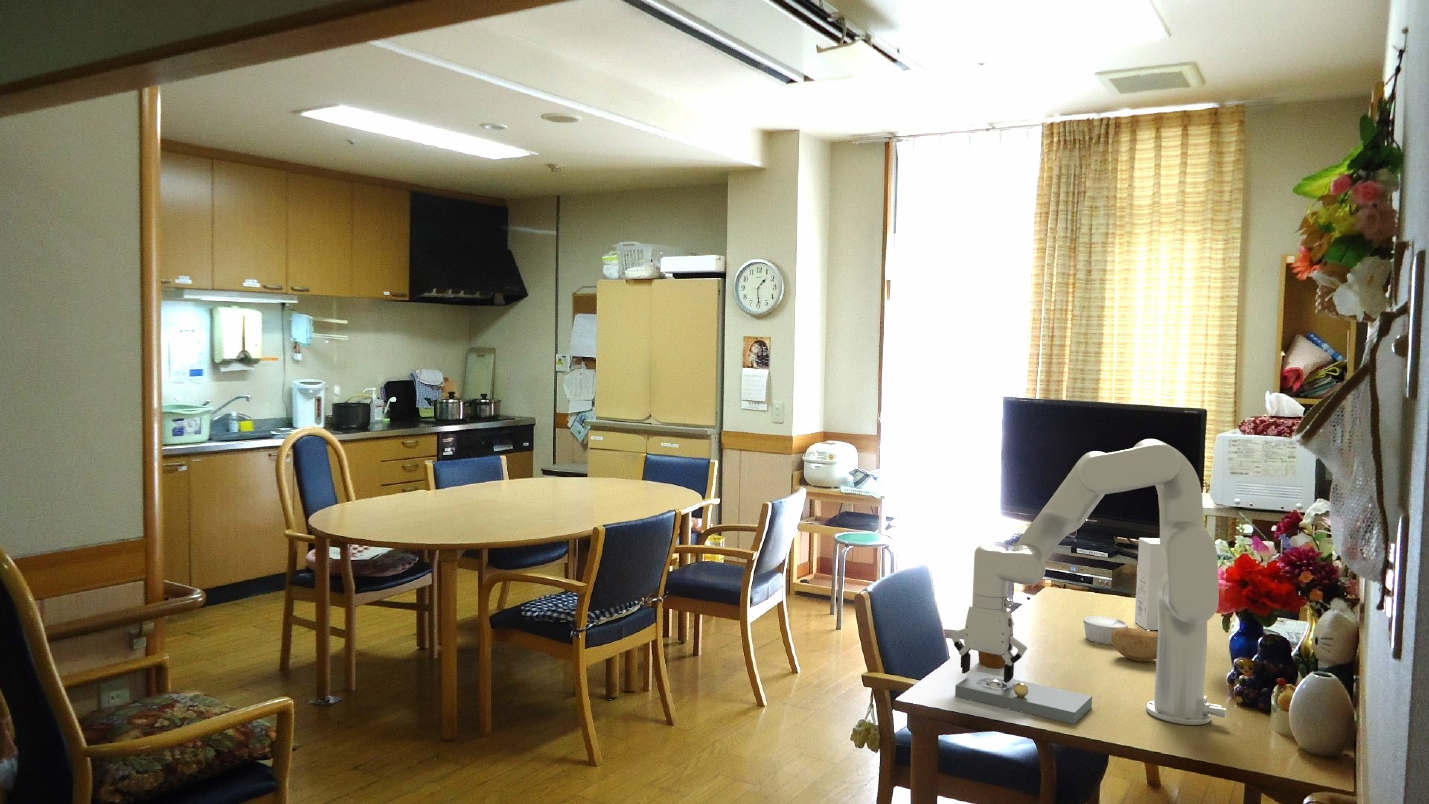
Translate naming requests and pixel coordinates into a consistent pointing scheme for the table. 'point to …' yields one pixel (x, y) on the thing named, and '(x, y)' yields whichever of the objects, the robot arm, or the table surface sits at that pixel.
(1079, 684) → the table surface
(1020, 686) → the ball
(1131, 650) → the potato
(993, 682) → the ball
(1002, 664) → the disposable coffee cup
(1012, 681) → the hole board
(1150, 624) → the tall white carton
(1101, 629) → the ramekin
